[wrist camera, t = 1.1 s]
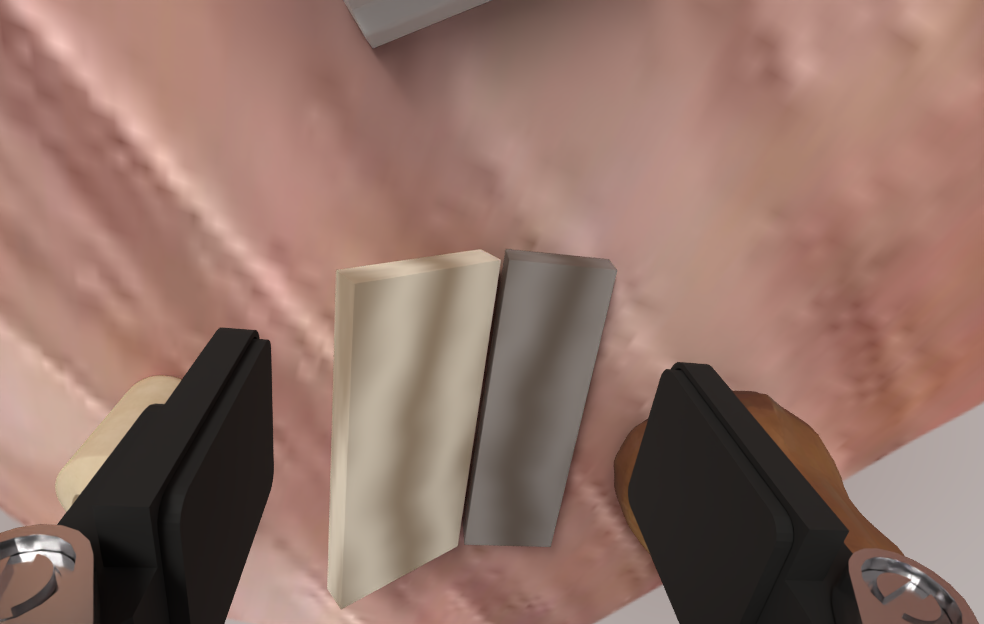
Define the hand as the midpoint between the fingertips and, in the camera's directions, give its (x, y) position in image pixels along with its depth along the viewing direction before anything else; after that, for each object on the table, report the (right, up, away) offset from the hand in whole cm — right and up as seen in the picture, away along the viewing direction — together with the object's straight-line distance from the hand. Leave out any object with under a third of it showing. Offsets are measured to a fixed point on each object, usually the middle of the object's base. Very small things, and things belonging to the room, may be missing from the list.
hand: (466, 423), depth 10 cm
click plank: (-6, -6, +29) cm, 30 cm away
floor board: (+3, -5, +34) cm, 34 cm away
